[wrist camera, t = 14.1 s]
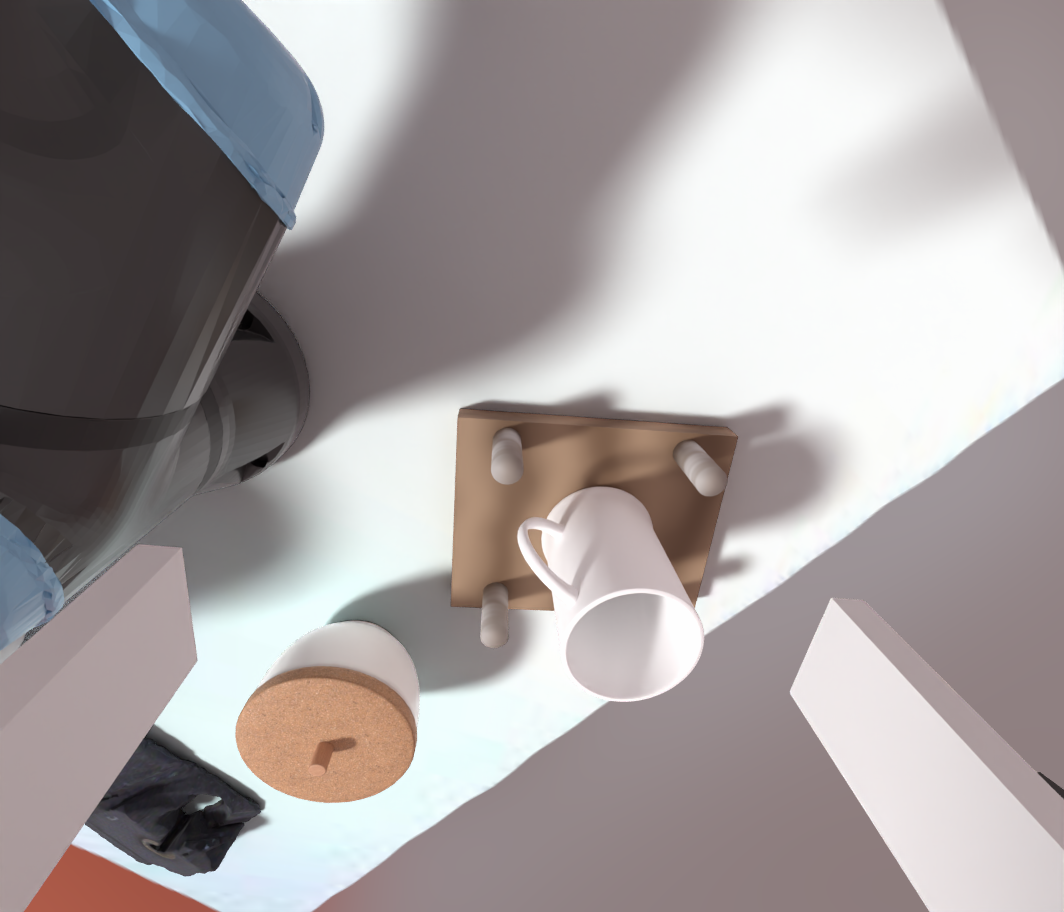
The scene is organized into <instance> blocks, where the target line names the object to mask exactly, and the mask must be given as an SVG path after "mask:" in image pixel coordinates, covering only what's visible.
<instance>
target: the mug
mask: <svg viewBox="0 0 1064 912" xmlns="http://www.w3.org/2000/svg"><path fill="white" fill-rule="evenodd" d="M528 529H538V530H541V531H542V537H541V541H542V549H543V552H544V555H545V558H546V560H547V562H548V566H547V565H546V564H545V563H544V562H543V560H542V559H541V558H540V557H539V555H538V554H537V552H536V551H535V549H534V548H533V546H532V544H531V542H530V540H529V537H528ZM517 538H518V544H519V547H520V550H521V552H522V554H523V556H524V558H525V560H526V561H527V563H528V565H529V566H530V567H531V569H532V570H533V571H534V573H535V574H536V575H537V576H538V577H539V579H540V580H541V581H542V582H543V583H544V584H545V585H546V586H547V587H548V588H549V589H550V590H551V591H552V597H553V604H554V611H555V618H556V625H557V632H558V639H559V646H560V652H561V658H562V663H563V666H564V668H565V671H566V673H567V674H568V676H569V677H570V679H571V680H572V681H573V682H574V683H575V684H576V685H577V686H578V687H579V688H581V689H582V690H584V691H585V692H587V693H589V694H591V695H593V696H595V697H598V698H601V699H605V700H611V701H622V702H626V701H638V700H643V699H647V698H651V697H654V696H657V695H659V694H662V693H663V692H666V691H668V690H669V689H671V688H673V687H674V686H676V685H677V684H678V683H680V682H681V681H682V680H683V679H684V678H686V676H687V675H688V674H689V673H690V672H691V671H692V670H693V668H694V667H695V665H696V664H697V662H698V660H699V658H700V656H701V653H702V650H703V644H704V631H703V626H702V623H701V620H700V618H699V616H698V614H697V612H696V610H695V608H694V606H693V604H692V603H691V601H690V599H689V597H688V595H687V593H686V591H685V589H684V587H683V585H682V583H681V582H680V580H679V578H678V576H677V574H676V572H675V570H674V568H673V566H672V564H671V562H670V561H669V559H668V557H667V555H666V553H665V551H664V549H663V547H662V545H661V543H660V541H659V540H658V538H657V536H656V534H655V532H654V530H653V525H652V521H651V518H650V515H649V513H648V511H647V510H646V508H645V507H644V505H643V504H642V503H641V502H640V501H639V500H638V499H637V498H635V497H634V496H633V495H631V494H629V493H627V492H625V491H623V490H620V489H617V488H612V487H590V488H586V489H582V490H579V491H577V492H574V493H572V494H570V495H569V496H567V497H565V498H564V499H563V500H561V501H560V502H559V503H558V504H557V505H556V506H555V507H554V508H553V509H552V511H551V512H550V513H549V515H548V517H547V519H545V518H540V517H532V518H529V519H527V520H525V521H524V522H523V523H522V524H521V526H520V527H519V530H518V535H517Z"/></svg>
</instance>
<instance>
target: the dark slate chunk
mask: <svg viewBox="0 0 1064 912" xmlns="http://www.w3.org/2000/svg"><path fill="white" fill-rule="evenodd" d="M155 744H156V743H155V741H154V740H152V739H146V738H144V739H143V740H142V741H141V743H140V744H139V746H138V747H137V749H136V750H135V752H134V753H133V754H132V756H131V757H130V759H129V760H128V762H127V763H126V765H125V766H124V767H123V769H122V770H121V772H120V773H119V775H118V776H117V778H116V779H115V780H114V782H113V783H112V785H111V786H110V788H109V789H108V791H107V792H106V793H105V795H104V796H103V798H102V799H101V801H100V802H99V804H98V805H97V806H96V808H95V809H94V811H93V812H92V814H91V815H90V817H89V818H88V819H87V821H86V822H85V825H87V826H88V827H90V828H91V829H92V830H93V831H95V832H97V833H98V834H99V835H100V836H101V837H103V838H105V839H106V840H107V841H109V842H110V843H112V844H113V845H114V846H115V847H117V848H119V849H120V850H122V851H123V852H125V853H126V854H128V855H129V856H131V857H133V858H134V859H135V860H136V861H138V862H141V863H144V864H147V865H151V864H155V865H157V866H161V867H164V868H166V869H167V870H169V871H171V872H174V873H178V874H180V875H183V876H191V875H194V874H196V873H204V874H205V873H207V872H209V871H215V870H216V869H217V868H218V867H219V865H220V864H221V862H222V860H223V859H224V857H225V855H226V853H227V851H228V849H229V848H230V847H231V845H232V844H233V842H234V841H235V839H236V837H237V835H238V833H239V832H240V830H241V829H242V828H243V826H244V824H243V823H242V822H246V821H249V820H250V819H251V818H252V817H255V816H256V815H257V814H259V813H261V811H260V808H259V804H258V803H255V802H254V801H253V799H251V798H246V799H245V798H244V797H243V796H241V795H239V794H238V793H237V792H236V791H234V790H233V789H232V788H231V787H230V786H229V785H228V784H226V783H225V782H223V781H222V780H221V779H220V778H218V777H217V776H215V775H212V774H209V773H208V772H207V771H206V770H205V769H204V768H200V767H197V766H196V763H193V762H190V761H186V760H181V759H179V758H178V757H176V756H175V755H173V754H172V753H171V752H169V751H168V750H167V749H166V748H164V747H161V746H157V745H155ZM198 794H208V795H213V796H217V797H220V798H221V799H222V800H220V801H218V802H217V803H215V804H214V805H209V806H206V807H205V808H204V811H198V812H195V813H194V814H192V815H185V813H186V812H183V811H182V809H181V808H183V807H184V806H185V805H186V804H188V803H189V802H190V801H192V800H193V799H194V798H195V797H196V796H197V795H198Z"/></svg>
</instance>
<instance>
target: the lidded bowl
mask: <svg viewBox="0 0 1064 912" xmlns="http://www.w3.org/2000/svg"><path fill="white" fill-rule="evenodd" d="M419 706H420V690H419V681H418V676H417V672H416V669H415V666H414V663H413V661H412V659H411V657H410V655H409V654H408V652H407V651H406V649H405V648H404V646H403V645H402V644H401V643H400V642H399V641H398V640H397V639H396V638H394V637H393V636H392V635H391V634H390V633H389V632H388V631H387V630H385V629H384V628H382V627H381V626H379V625H376V624H374V623H371V622H367V621H361V620H349V621H343V622H338V623H332V624H328V625H324V626H322V627H319V628H316V629H314V630H312V631H310V632H308V633H306V634H304V635H303V636H301V637H300V638H299V639H297V640H296V641H295V642H293V643H292V644H291V645H290V646H288V647H287V648H286V649H285V650H284V652H283V653H282V654H281V655H280V656H279V657H278V658H277V659H276V660H275V662H274V663H273V664H272V665H271V667H270V668H269V669H268V671H267V672H266V674H265V675H264V677H263V678H262V680H261V682H260V683H259V685H258V687H257V689H256V690H255V692H254V693H253V694H252V695H251V696H250V698H249V699H248V701H247V702H246V704H245V706H244V708H243V710H242V712H241V713H240V715H239V717H238V721H237V725H236V742H237V747H238V750H239V752H240V755H241V757H242V759H243V761H244V762H245V763H246V765H247V766H248V768H249V769H250V770H251V771H252V772H253V773H254V774H255V775H256V776H257V777H258V778H260V779H261V780H262V781H263V782H265V783H266V784H268V785H269V786H271V787H273V788H274V789H276V790H278V791H281V792H283V793H285V794H288V795H291V796H294V797H297V798H300V799H305V800H310V801H316V802H325V803H338V802H350V801H355V800H359V799H364V798H367V797H370V796H373V795H376V794H378V793H380V792H381V791H383V790H385V789H387V788H388V787H390V786H391V785H393V784H394V783H395V782H396V781H397V780H398V779H400V778H401V777H402V776H403V775H404V773H405V772H406V771H407V769H408V768H409V766H410V764H411V762H412V760H413V757H414V752H415V747H416V742H417V725H418V719H419Z"/></svg>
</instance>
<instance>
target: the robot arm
mask: <svg viewBox="0 0 1064 912" xmlns="http://www.w3.org/2000/svg"><path fill="white" fill-rule="evenodd" d="M323 136H324V117H323V111H322V107H321V104H320V101H319V97H318V95H317V93H316V90H315V88H314V86H313V84H312V82H311V81H310V79H309V78H308V76H307V75H306V73H305V71H304V70H303V69H302V67H301V66H300V65H299V63H298V62H297V61H296V60H295V58H294V57H293V56H292V55H291V54H290V52H289V51H288V50H287V49H286V48H285V47H284V45H283V44H282V43H281V42H280V41H279V40H278V39H277V38H276V36H275V35H274V34H273V33H272V32H271V31H270V30H269V29H268V27H267V26H266V25H265V24H264V23H263V22H262V21H261V20H260V19H259V18H258V17H257V16H256V15H255V14H254V13H253V12H252V11H251V10H250V9H249V8H248V6H247V5H246V4H245V3H244V2H243V1H242V0H0V651H1V650H3V649H4V648H5V647H7V646H8V645H9V644H11V643H12V642H14V641H15V640H16V639H18V638H19V637H21V636H22V635H24V634H25V633H27V632H28V631H29V630H31V629H32V628H34V627H37V626H40V625H41V624H44V623H47V622H48V623H47V624H46V625H45V626H44V627H43V628H41V629H40V630H39V631H38V632H37V633H36V634H35V635H33V636H32V637H31V638H30V639H29V640H28V641H27V642H25V643H24V644H23V645H22V646H21V647H20V648H19V649H17V650H16V651H15V652H14V653H13V654H12V655H11V656H9V657H8V658H7V659H6V660H5V661H4V662H3V663H1V664H0V912H24V910H25V909H26V908H27V906H28V905H29V903H30V902H31V900H32V899H33V897H34V896H35V895H36V893H37V892H38V890H39V889H40V887H41V886H42V884H43V883H44V881H45V880H46V879H47V877H48V876H49V874H50V873H51V871H52V870H53V868H54V867H55V866H56V864H57V863H58V861H59V860H60V858H61V857H62V856H63V854H64V853H65V851H66V850H67V848H68V847H69V845H70V844H71V843H72V841H73V840H74V838H75V837H76V835H77V834H78V832H79V831H80V830H81V828H82V827H83V825H84V824H85V822H86V821H87V819H88V818H89V817H90V815H91V814H92V812H93V811H94V809H95V808H96V806H97V805H98V804H99V802H100V801H101V799H102V798H103V796H104V795H105V793H106V792H107V791H108V789H109V788H110V786H111V785H112V783H113V782H114V780H115V779H116V778H117V776H118V775H119V773H120V772H121V770H122V769H123V767H124V766H125V765H126V763H127V762H128V760H129V759H130V757H131V756H132V754H133V753H134V752H135V750H136V749H137V747H138V746H139V744H140V743H141V741H142V740H143V739H144V737H145V736H146V734H147V733H148V731H149V730H150V728H151V727H152V726H153V724H154V723H155V721H156V720H157V718H158V717H159V715H160V714H161V713H162V711H163V710H164V708H165V707H166V705H167V704H168V702H169V701H170V700H171V698H172V697H173V695H174V694H175V692H176V691H177V689H178V688H179V687H180V685H181V684H182V682H183V681H184V679H185V678H186V676H187V675H188V674H189V672H190V671H191V669H192V668H193V666H194V665H195V663H196V662H197V661H198V660H197V653H196V646H195V639H194V631H193V624H192V617H191V610H190V602H189V595H188V588H187V581H186V573H185V566H184V559H183V552H182V547H169V546H156V545H143V544H137V545H136V546H135V547H134V548H133V549H132V550H130V551H129V552H128V553H127V554H126V555H125V556H124V557H122V558H121V559H120V560H119V561H118V562H117V563H116V564H114V565H113V566H112V567H111V568H110V569H109V570H108V571H107V572H105V573H104V574H103V575H102V576H101V577H100V578H99V579H97V580H96V581H95V582H94V583H93V584H92V585H91V586H89V587H88V588H87V589H86V590H85V591H84V592H83V593H81V594H80V595H79V596H78V597H77V598H76V599H75V600H73V601H72V602H71V603H70V604H69V605H68V606H67V607H65V608H64V609H63V610H62V611H61V612H60V613H59V614H57V615H56V616H55V614H56V613H58V611H59V610H60V609H61V608H62V607H63V604H64V603H65V602H66V601H67V600H68V599H69V598H71V597H72V596H73V595H74V594H75V593H77V592H78V591H79V590H80V589H81V588H83V587H84V586H85V585H86V584H87V583H89V582H90V581H91V580H92V579H93V578H95V577H96V576H97V575H98V574H99V573H101V572H102V571H103V570H104V569H105V568H107V567H108V566H109V565H110V564H111V563H113V562H114V561H115V560H116V559H117V558H119V557H120V556H121V555H122V554H123V553H125V552H126V551H127V550H128V549H129V548H131V547H132V546H133V545H134V544H135V543H137V542H138V541H139V540H140V539H141V538H143V537H144V536H145V535H146V534H147V533H149V532H150V531H151V530H152V529H153V528H155V527H156V526H157V525H158V524H159V523H161V522H162V521H163V520H164V519H165V518H167V517H168V516H169V515H170V514H171V513H173V512H174V511H175V510H176V509H177V508H179V507H180V506H181V505H182V504H183V503H184V502H186V501H187V500H188V499H189V498H190V497H192V496H194V495H197V494H201V493H205V492H209V491H213V490H217V489H221V488H225V487H229V486H232V485H236V484H239V483H242V482H244V481H247V480H249V479H251V478H253V477H255V476H257V475H258V474H260V473H262V472H263V471H265V470H266V469H267V468H269V467H270V466H271V465H272V464H273V463H274V462H276V461H277V460H278V459H279V458H280V457H281V456H282V455H283V454H284V453H285V452H286V451H287V450H288V449H289V448H290V447H291V445H292V444H293V443H294V441H295V440H296V438H297V437H298V435H299V433H300V431H301V429H302V427H303V425H304V422H305V419H306V416H307V411H308V406H309V379H308V373H307V368H306V364H305V361H304V358H303V355H302V352H301V350H300V348H299V345H298V343H297V341H296V339H295V337H294V336H293V334H292V332H291V331H290V329H289V327H288V326H287V325H286V323H285V322H284V320H283V319H282V318H281V317H280V315H279V314H278V313H277V312H276V311H275V310H274V308H273V307H272V306H271V305H270V304H269V303H268V302H267V301H266V300H265V299H263V298H262V297H261V296H260V295H259V294H258V293H256V290H257V288H258V286H259V284H260V282H261V280H262V278H263V276H264V274H265V272H266V270H267V268H268V266H269V264H270V261H271V259H272V257H273V255H274V253H275V251H276V249H277V247H278V245H279V243H280V241H281V239H282V237H283V235H284V233H285V231H286V229H287V228H288V229H289V230H292V228H293V227H294V225H295V223H296V216H295V213H294V209H295V207H296V204H297V202H298V200H299V197H300V195H301V192H302V190H303V188H304V185H305V183H306V180H307V178H308V176H309V173H310V171H311V169H312V166H313V164H314V161H315V159H316V157H317V154H318V152H319V150H320V147H321V144H322V141H323ZM54 616H55V617H54ZM53 617H54V618H53ZM51 619H52V620H51ZM50 620H51V621H50ZM790 694H791V696H792V697H793V699H794V700H795V702H796V703H797V705H798V707H799V708H800V710H801V711H802V713H803V714H804V716H805V718H806V719H807V721H808V722H809V724H810V725H811V727H812V729H813V730H814V732H815V733H816V735H817V736H818V738H819V739H820V741H821V743H822V744H823V746H824V747H825V749H826V750H827V752H828V754H829V755H830V757H831V758H832V760H833V761H834V763H835V764H836V766H837V768H838V769H839V771H840V772H841V774H842V775H843V777H844V779H845V780H846V782H847V783H848V785H849V786H850V788H851V789H852V791H853V792H854V794H855V796H856V797H857V799H858V800H859V802H860V804H861V805H862V807H863V808H864V810H865V811H866V813H867V814H868V816H869V817H870V819H871V821H872V822H873V824H874V825H875V827H876V828H877V830H878V831H879V833H880V835H881V836H882V838H883V839H884V841H885V843H886V844H887V845H888V847H889V849H890V850H891V852H892V853H893V855H894V857H895V858H896V860H897V861H898V863H899V864H900V866H901V867H902V869H903V871H904V872H905V874H906V875H907V877H908V878H909V880H910V881H911V883H912V885H913V886H914V888H915V889H916V891H917V893H918V894H919V896H920V897H921V899H922V900H923V902H924V903H925V905H926V907H927V908H928V910H929V911H930V912H1064V790H1063V789H1062V788H1060V787H1059V786H1058V785H1057V784H1055V783H1054V782H1053V781H1051V780H1050V779H1048V778H1047V777H1046V776H1044V775H1043V774H1042V773H1040V772H1036V771H1035V770H1034V769H1033V768H1032V767H1031V766H1030V765H1029V764H1028V763H1027V762H1026V761H1024V759H1023V758H1022V757H1021V756H1020V755H1019V754H1018V753H1017V752H1015V750H1014V749H1013V748H1012V747H1011V746H1010V745H1008V743H1007V742H1006V741H1005V740H1004V739H1003V738H1002V737H1001V736H999V734H998V733H997V732H995V730H993V728H992V727H991V726H989V724H988V723H986V722H985V720H984V719H983V718H982V717H981V716H980V715H979V714H978V713H977V712H976V711H974V710H973V708H971V707H970V706H969V704H968V703H967V702H966V701H964V700H963V699H962V697H960V696H959V694H958V693H956V692H955V690H954V689H953V688H952V687H951V686H949V685H948V684H947V683H946V682H945V681H944V680H943V679H942V678H941V677H940V676H939V675H938V674H937V673H936V672H935V671H934V670H933V669H932V668H931V667H930V666H929V665H928V664H927V663H926V662H925V661H924V660H923V659H922V658H921V657H920V656H919V655H918V654H917V653H916V652H915V651H914V650H913V649H912V648H911V647H910V646H909V645H908V644H907V643H906V642H905V641H904V640H903V639H902V638H901V637H900V636H899V635H898V634H897V633H896V632H895V631H894V630H893V629H892V628H891V627H890V626H889V625H888V624H887V623H886V622H885V621H884V620H883V619H882V618H881V617H880V616H879V615H878V614H877V613H876V612H875V611H874V610H873V609H872V608H871V607H870V606H869V605H868V604H867V603H866V602H865V601H864V600H855V599H842V598H831V600H830V602H829V604H828V606H827V609H826V611H825V613H824V615H823V618H822V620H821V622H820V624H819V627H818V629H817V631H816V633H815V636H814V638H813V640H812V642H811V645H810V647H809V650H808V651H807V654H806V656H805V658H804V661H803V663H802V665H801V668H800V670H799V672H798V674H797V677H796V679H795V681H794V683H793V686H792V688H791V690H790Z"/></svg>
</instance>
